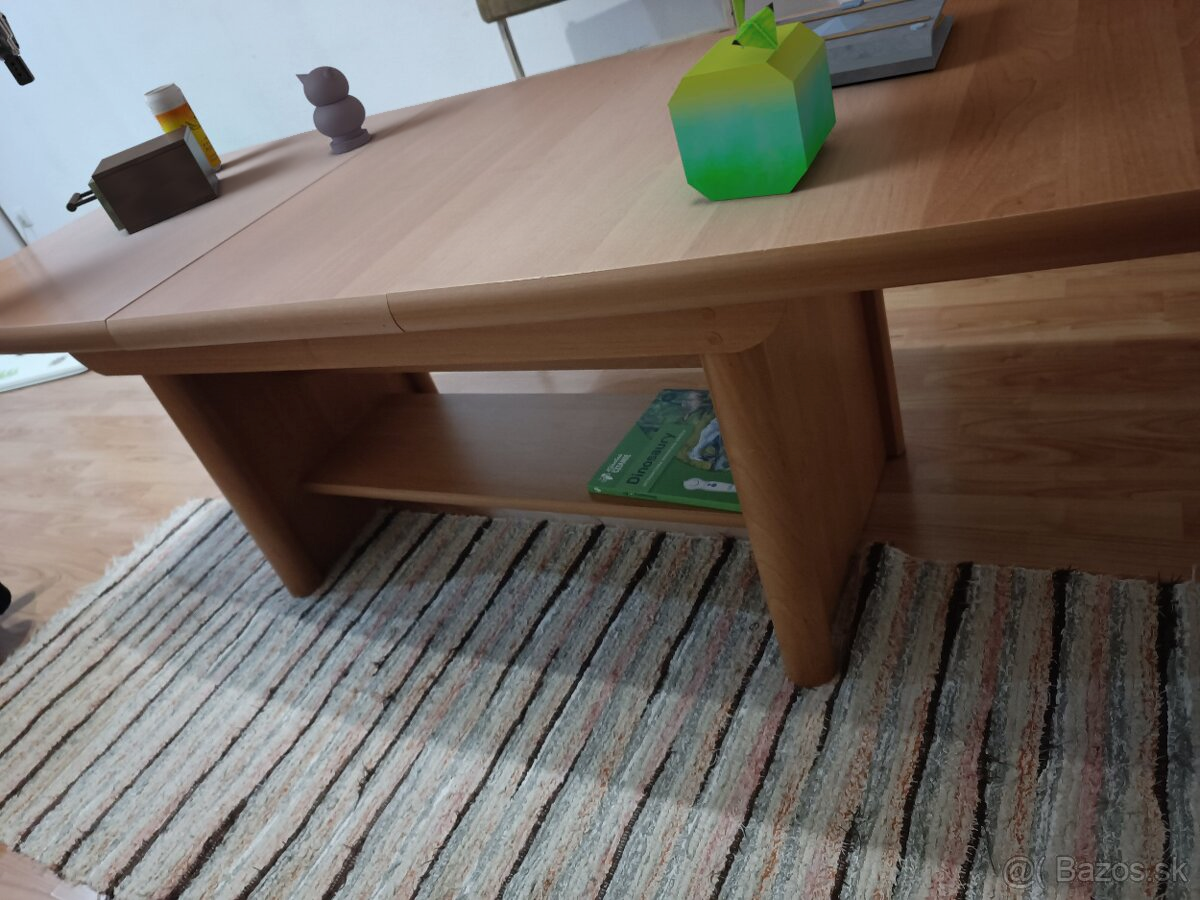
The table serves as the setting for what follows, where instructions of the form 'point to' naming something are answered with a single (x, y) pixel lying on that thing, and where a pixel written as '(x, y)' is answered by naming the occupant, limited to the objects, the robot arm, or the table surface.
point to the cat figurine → (335, 108)
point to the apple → (754, 109)
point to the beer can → (179, 117)
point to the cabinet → (156, 179)
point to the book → (879, 37)
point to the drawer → (78, 200)
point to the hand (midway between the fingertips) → (28, 83)
